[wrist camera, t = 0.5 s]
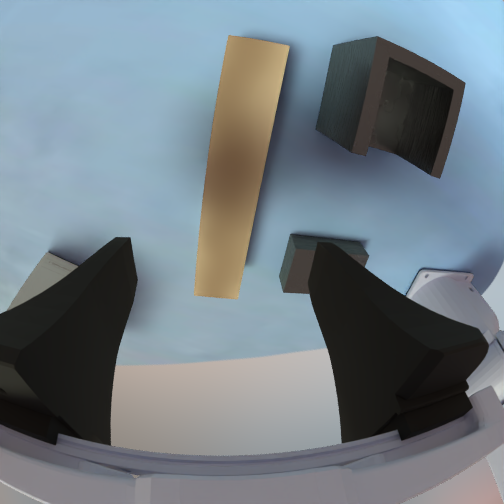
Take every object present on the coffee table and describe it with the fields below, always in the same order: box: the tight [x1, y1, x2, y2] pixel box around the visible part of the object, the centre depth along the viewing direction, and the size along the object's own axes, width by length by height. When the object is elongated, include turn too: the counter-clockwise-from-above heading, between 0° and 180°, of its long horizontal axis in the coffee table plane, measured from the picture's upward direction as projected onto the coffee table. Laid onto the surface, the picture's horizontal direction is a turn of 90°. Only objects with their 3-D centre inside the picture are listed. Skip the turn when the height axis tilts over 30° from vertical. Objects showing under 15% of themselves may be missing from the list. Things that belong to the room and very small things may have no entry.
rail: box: [194, 35, 290, 299], centre depth 17 cm, size 3×16×4 cm, turn 170°
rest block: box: [279, 234, 369, 294], centre depth 22 cm, size 6×4×2 cm, turn 81°
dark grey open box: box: [316, 36, 465, 179], centre depth 14 cm, size 6×6×6 cm
